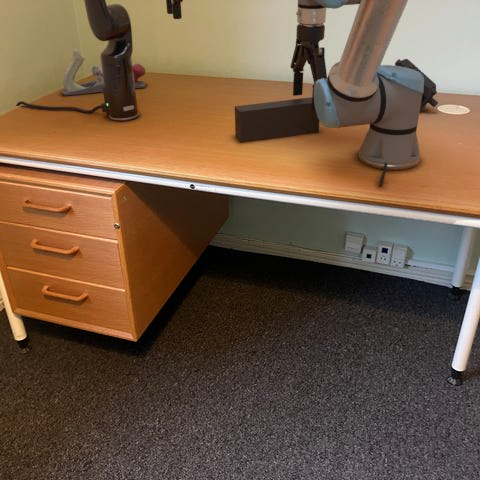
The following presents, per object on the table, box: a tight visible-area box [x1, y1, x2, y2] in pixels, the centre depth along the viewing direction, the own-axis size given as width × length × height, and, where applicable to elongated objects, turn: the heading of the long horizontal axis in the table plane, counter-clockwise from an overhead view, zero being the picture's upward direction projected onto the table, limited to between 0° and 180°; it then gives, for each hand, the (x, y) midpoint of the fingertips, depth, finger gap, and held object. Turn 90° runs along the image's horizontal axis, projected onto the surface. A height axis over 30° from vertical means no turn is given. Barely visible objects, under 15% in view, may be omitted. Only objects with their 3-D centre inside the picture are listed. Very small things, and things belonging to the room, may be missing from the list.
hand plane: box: [61, 48, 146, 96], centre depth 194 cm, size 7×31×15 cm, turn 107°
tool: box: [394, 58, 439, 110], centre depth 172 cm, size 6×19×15 cm, turn 51°
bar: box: [234, 97, 320, 143], centre depth 153 cm, size 24×5×9 cm, turn 107°
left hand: (174, 16), depth 146 cm, fingers open, 8 cm apart
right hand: (306, 102), depth 154 cm, fingers open, 13 cm apart
